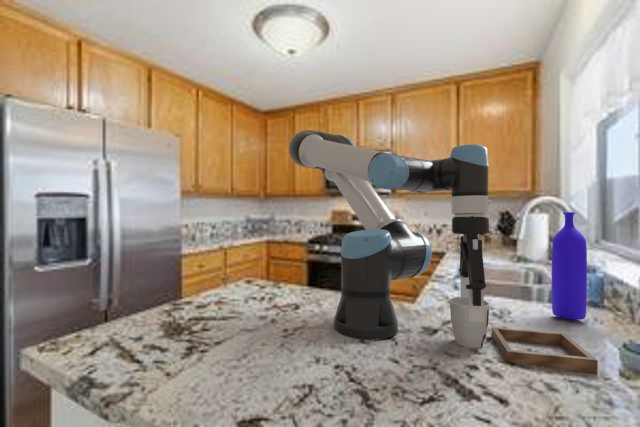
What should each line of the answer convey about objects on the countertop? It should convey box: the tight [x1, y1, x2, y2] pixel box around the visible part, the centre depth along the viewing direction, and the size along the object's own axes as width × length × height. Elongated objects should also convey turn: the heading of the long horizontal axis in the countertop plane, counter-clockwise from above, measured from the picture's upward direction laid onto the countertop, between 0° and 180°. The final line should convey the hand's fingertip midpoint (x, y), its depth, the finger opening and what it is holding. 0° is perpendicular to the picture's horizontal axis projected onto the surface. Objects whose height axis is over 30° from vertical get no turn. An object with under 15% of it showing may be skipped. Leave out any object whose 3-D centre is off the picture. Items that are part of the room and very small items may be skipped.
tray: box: [491, 326, 598, 375], centre depth 74 cm, size 15×15×2 cm
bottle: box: [551, 211, 588, 321], centre depth 101 cm, size 8×8×30 cm
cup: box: [449, 296, 491, 349], centre depth 77 cm, size 8×8×10 cm
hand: (471, 312), depth 77 cm, fingers open, 13 cm apart
